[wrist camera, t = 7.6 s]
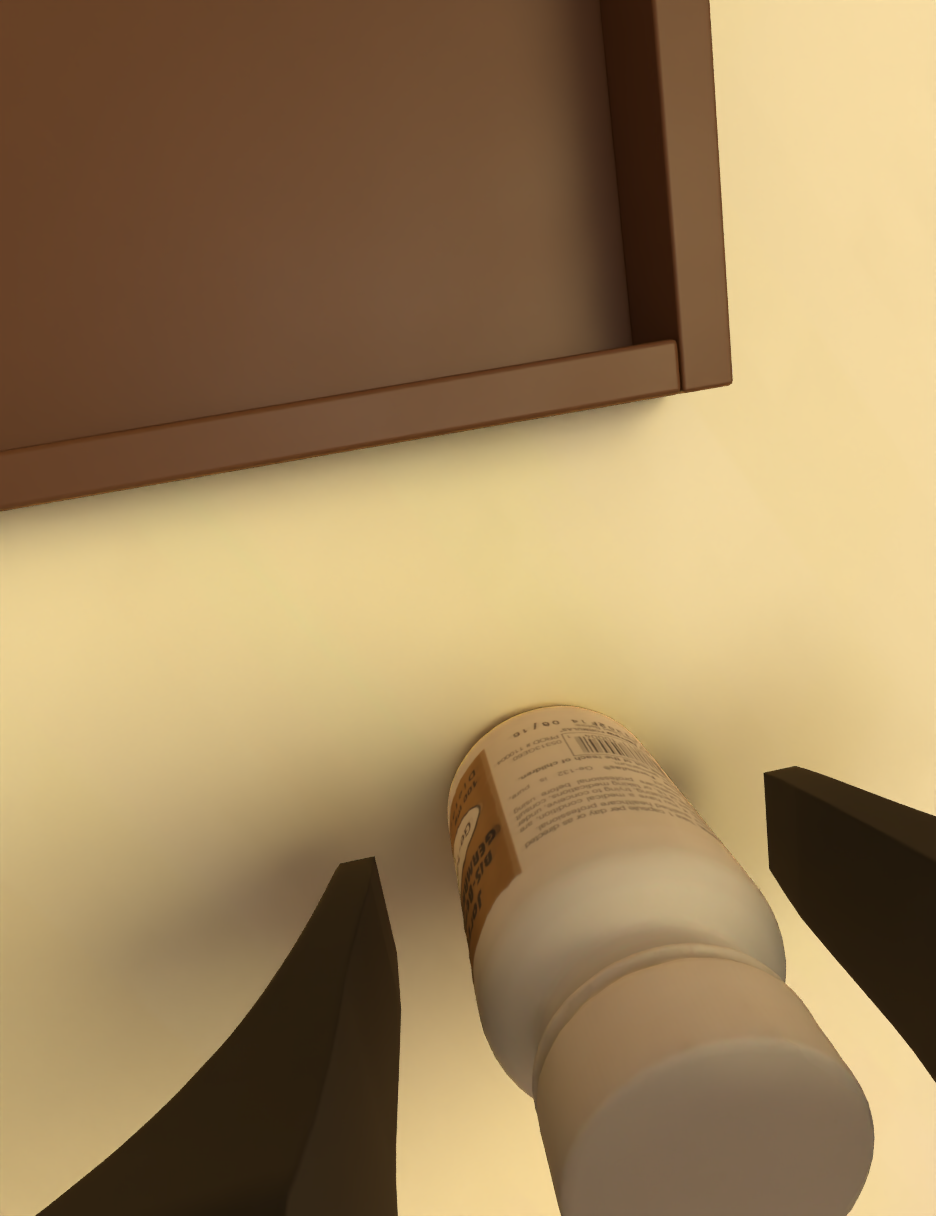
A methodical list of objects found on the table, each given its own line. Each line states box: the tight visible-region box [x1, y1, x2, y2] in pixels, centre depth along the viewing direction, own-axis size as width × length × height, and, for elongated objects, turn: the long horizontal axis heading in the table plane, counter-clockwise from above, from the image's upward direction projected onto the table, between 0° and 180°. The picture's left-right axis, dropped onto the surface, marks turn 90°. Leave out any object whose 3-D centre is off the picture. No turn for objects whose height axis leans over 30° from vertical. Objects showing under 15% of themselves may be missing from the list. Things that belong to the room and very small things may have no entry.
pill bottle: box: [447, 706, 874, 1216], centre depth 11 cm, size 4×4×8 cm
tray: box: [0, 0, 733, 511], centre depth 10 cm, size 16×12×2 cm
